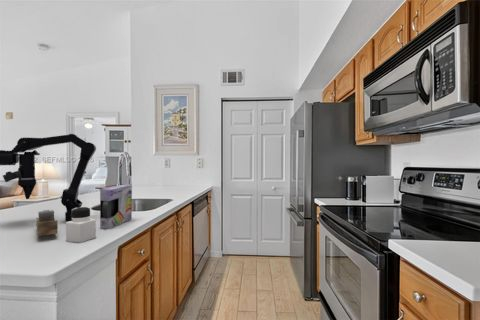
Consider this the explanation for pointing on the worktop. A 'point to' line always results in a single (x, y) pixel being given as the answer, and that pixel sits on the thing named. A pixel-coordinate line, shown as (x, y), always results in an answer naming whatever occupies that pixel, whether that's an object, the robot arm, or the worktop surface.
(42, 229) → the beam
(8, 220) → the worktop surface
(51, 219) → the grey block
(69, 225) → the medicine bottle
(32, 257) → the worktop surface
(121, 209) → the cake pan box
